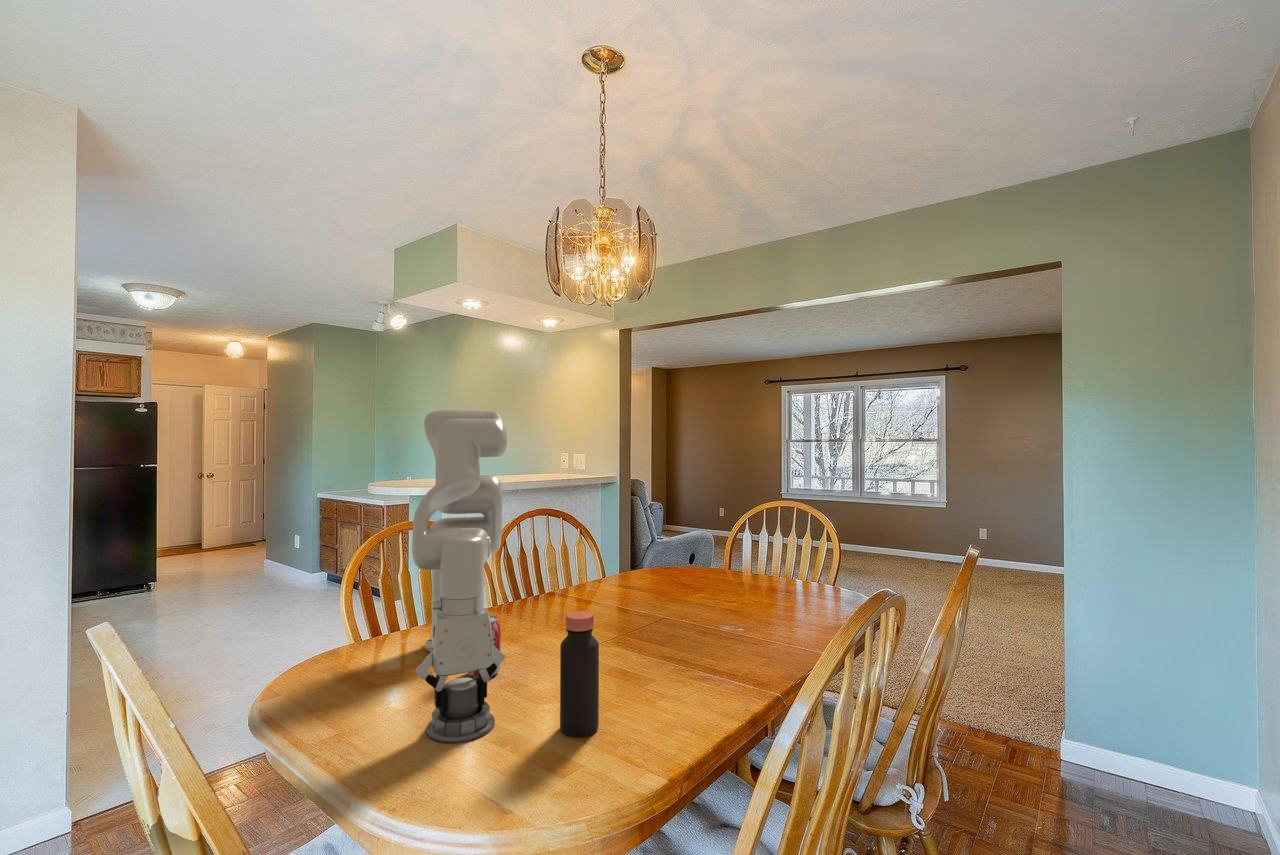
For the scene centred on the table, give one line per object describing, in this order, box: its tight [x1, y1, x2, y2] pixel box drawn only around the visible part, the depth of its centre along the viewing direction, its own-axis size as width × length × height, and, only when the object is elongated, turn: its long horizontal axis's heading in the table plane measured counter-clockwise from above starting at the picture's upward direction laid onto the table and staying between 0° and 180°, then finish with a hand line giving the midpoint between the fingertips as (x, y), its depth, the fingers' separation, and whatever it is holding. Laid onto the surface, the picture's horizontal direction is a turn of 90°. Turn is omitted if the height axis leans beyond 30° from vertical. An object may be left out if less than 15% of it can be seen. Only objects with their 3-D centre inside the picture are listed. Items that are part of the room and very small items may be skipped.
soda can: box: [467, 614, 502, 679], centre depth 130 cm, size 7×7×12 cm
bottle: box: [559, 610, 600, 738], centre depth 106 cm, size 7×7×20 cm
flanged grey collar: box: [426, 700, 496, 745], centre depth 106 cm, size 12×12×3 cm
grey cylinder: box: [444, 677, 478, 719], centre depth 106 cm, size 6×6×7 cm
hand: (461, 705), depth 106 cm, fingers open, 6 cm apart
